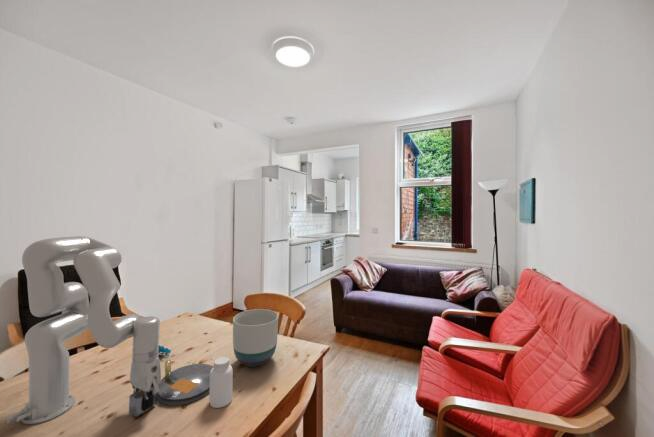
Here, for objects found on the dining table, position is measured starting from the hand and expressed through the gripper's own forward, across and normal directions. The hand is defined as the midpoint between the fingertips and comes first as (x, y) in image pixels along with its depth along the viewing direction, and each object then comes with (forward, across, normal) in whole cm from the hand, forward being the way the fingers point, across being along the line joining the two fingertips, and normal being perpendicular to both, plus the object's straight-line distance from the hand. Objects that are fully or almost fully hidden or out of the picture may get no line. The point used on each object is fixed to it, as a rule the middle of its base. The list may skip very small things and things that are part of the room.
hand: (143, 405), depth 91 cm
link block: (+1, 0, 0) cm, 1 cm away
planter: (+1, -16, -41) cm, 44 cm away
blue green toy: (+3, +29, -26) cm, 39 cm away
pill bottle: (+1, -21, -15) cm, 25 cm away
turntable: (0, -3, -16) cm, 16 cm away
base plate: (+2, -3, -16) cm, 16 cm away
